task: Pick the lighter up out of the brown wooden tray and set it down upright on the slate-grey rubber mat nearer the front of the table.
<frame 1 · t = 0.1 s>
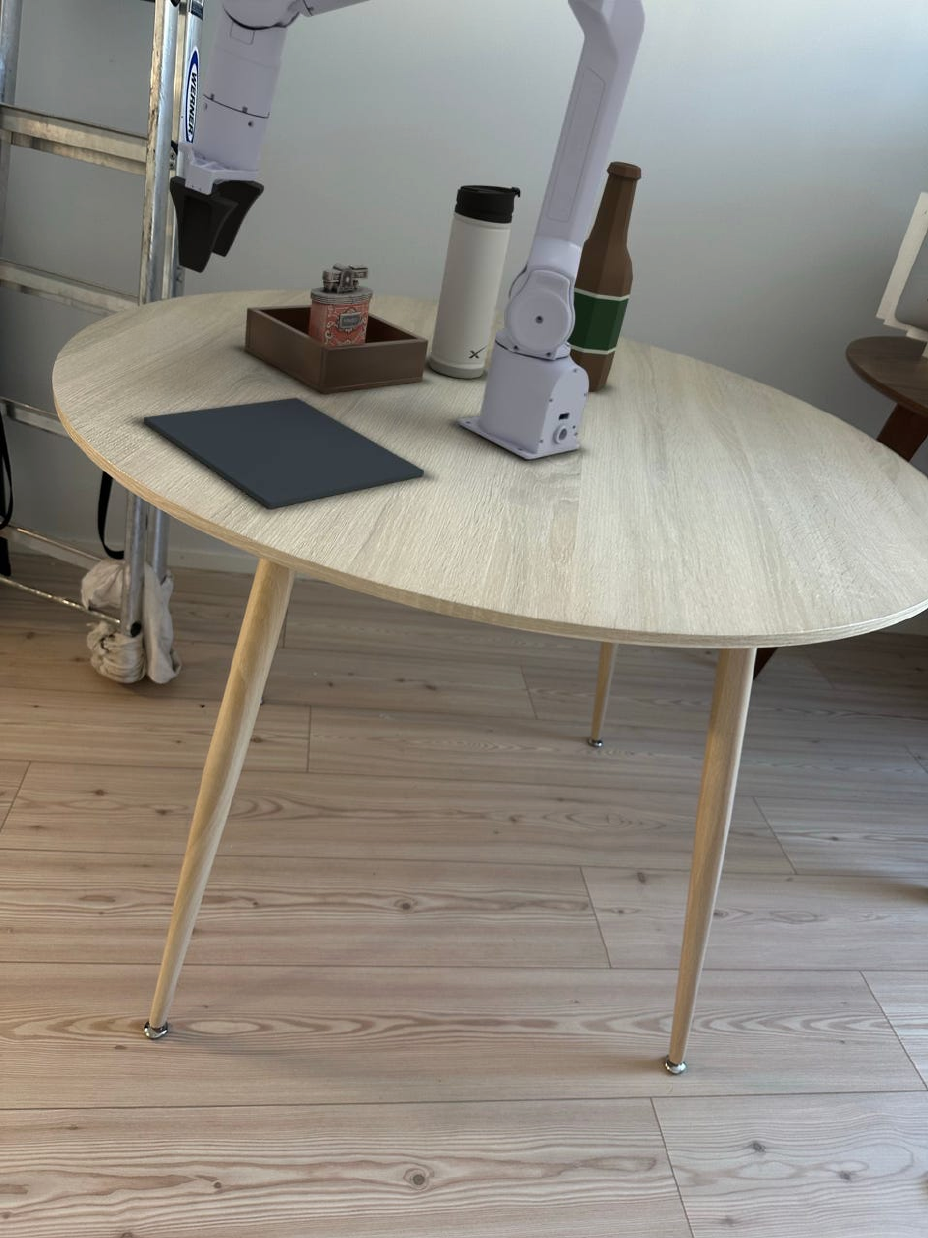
hand: (203, 260, 92), 11 cm above the table, tool pointing down, fingers open, 7 cm apart
beer bottle: (573, 382, 118), on the table
lighter: (334, 362, 106), resting on brown wooden tray
travel mug: (456, 371, 113), on the table
mat: (284, 449, 84), on the table
brown wooden tray: (333, 365, 106), on the table
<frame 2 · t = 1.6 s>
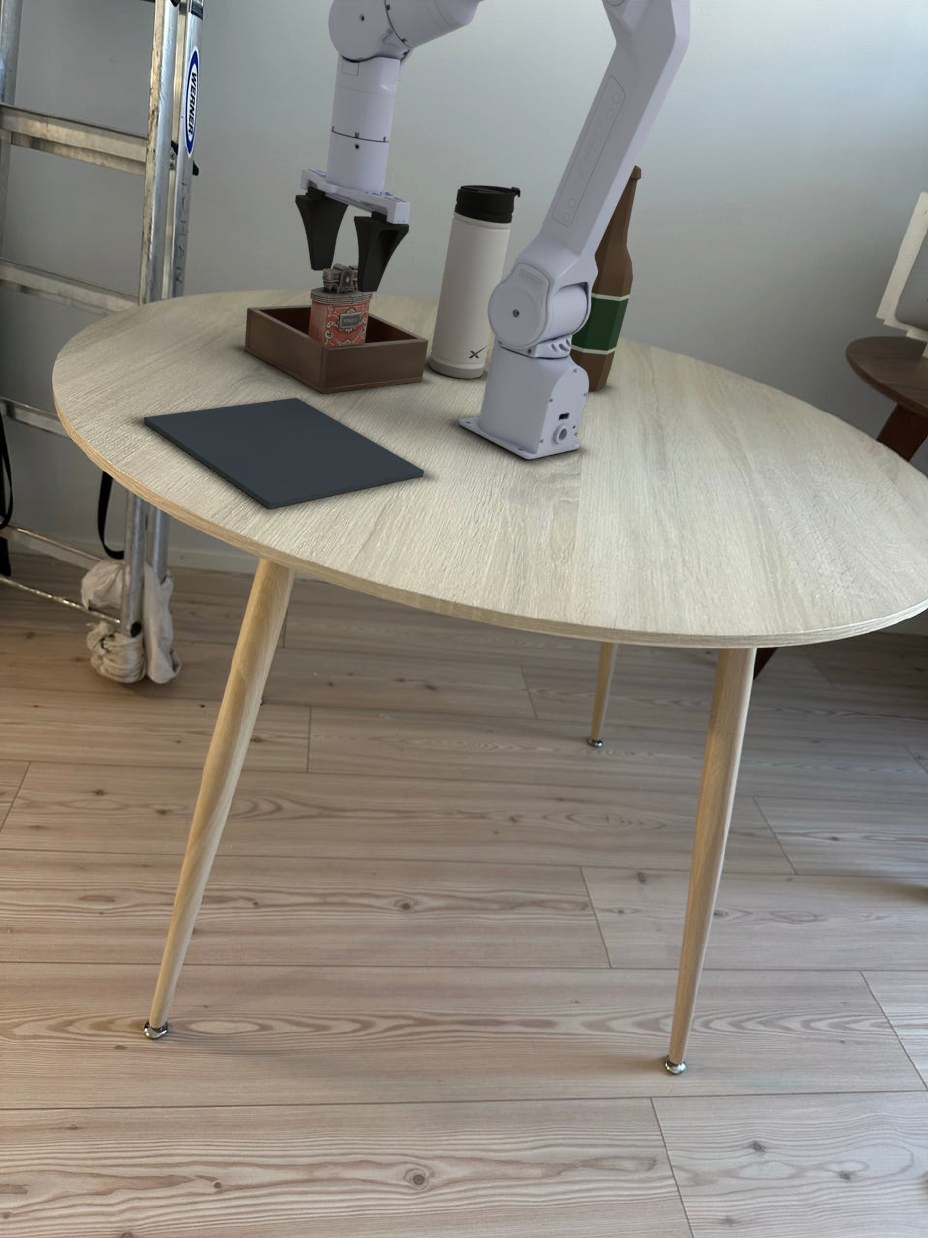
hand: (343, 280, 102), 9 cm above the table, tool pointing down, fingers open, 7 cm apart
nothing on the table moved.
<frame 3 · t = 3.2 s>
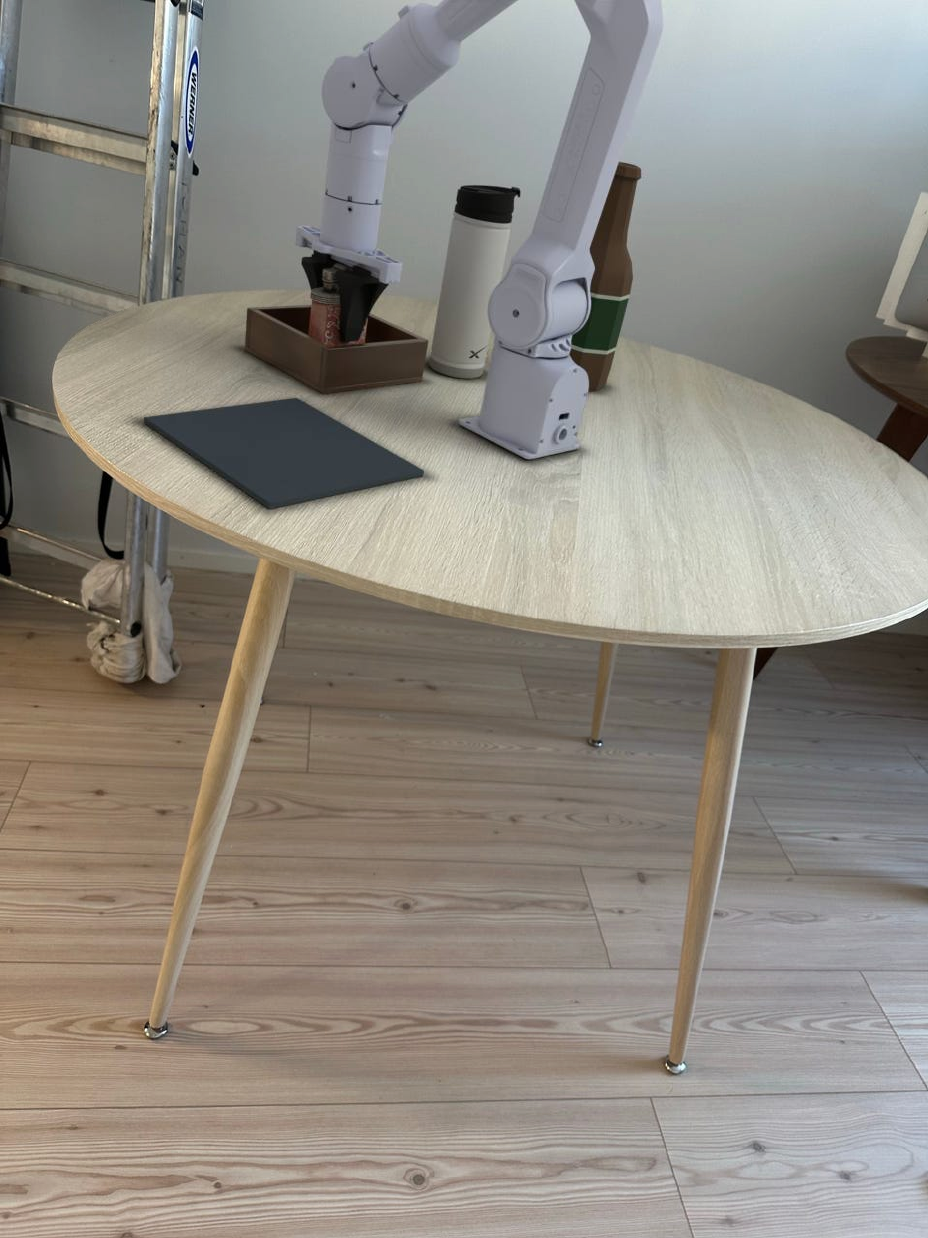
hand: (337, 334, 104), 3 cm above the table, tool pointing down, fingers closed on lighter, 3 cm apart
lighter: (334, 362, 106), resting on brown wooden tray, touching gripper
everything else where it was.
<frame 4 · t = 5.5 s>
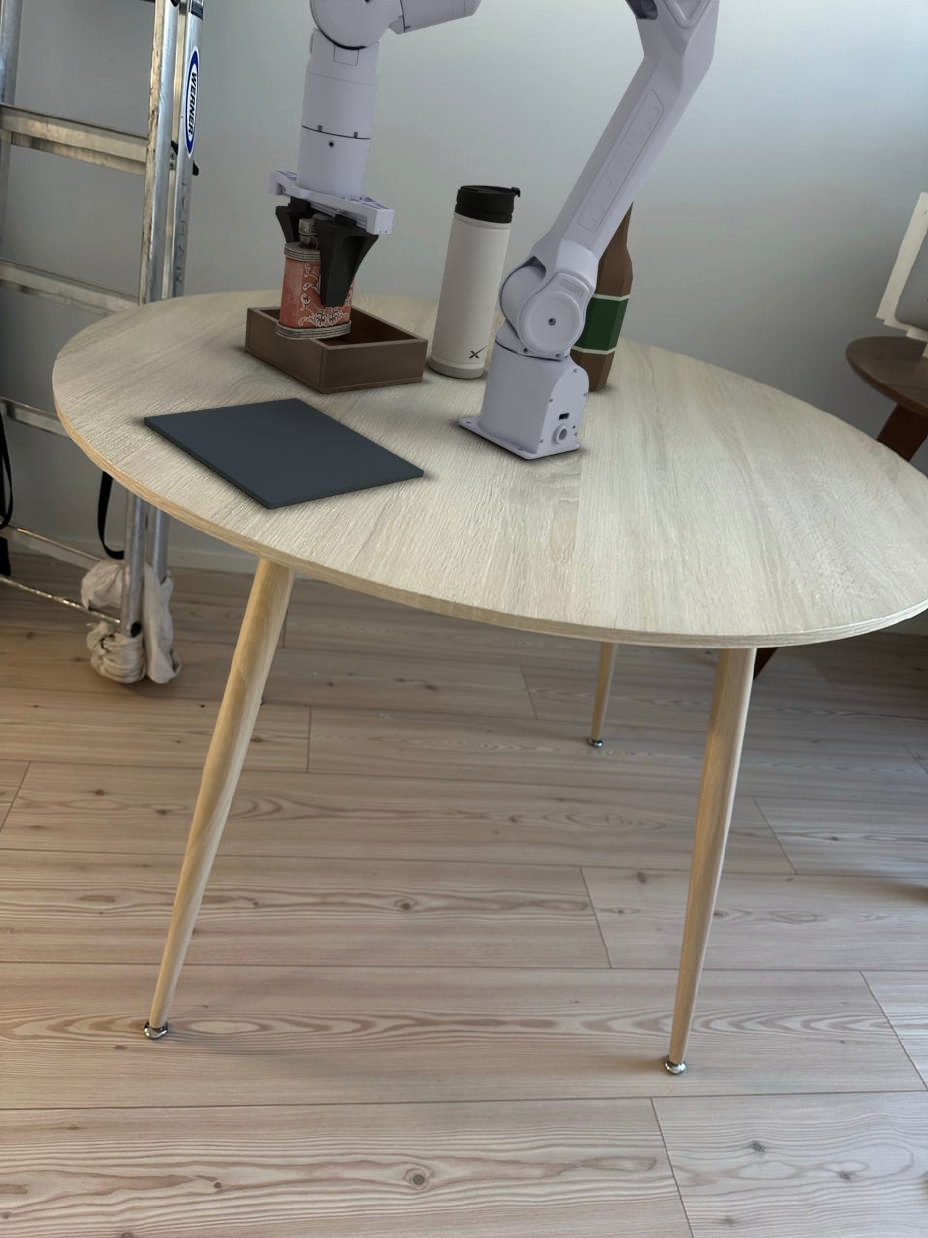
hand: (318, 299, 88), 10 cm above the table, tool pointing down, fingers closed on lighter, 3 cm apart
lighter: (313, 333, 89), point 7 cm above the table, touching gripper
everything else where it was.
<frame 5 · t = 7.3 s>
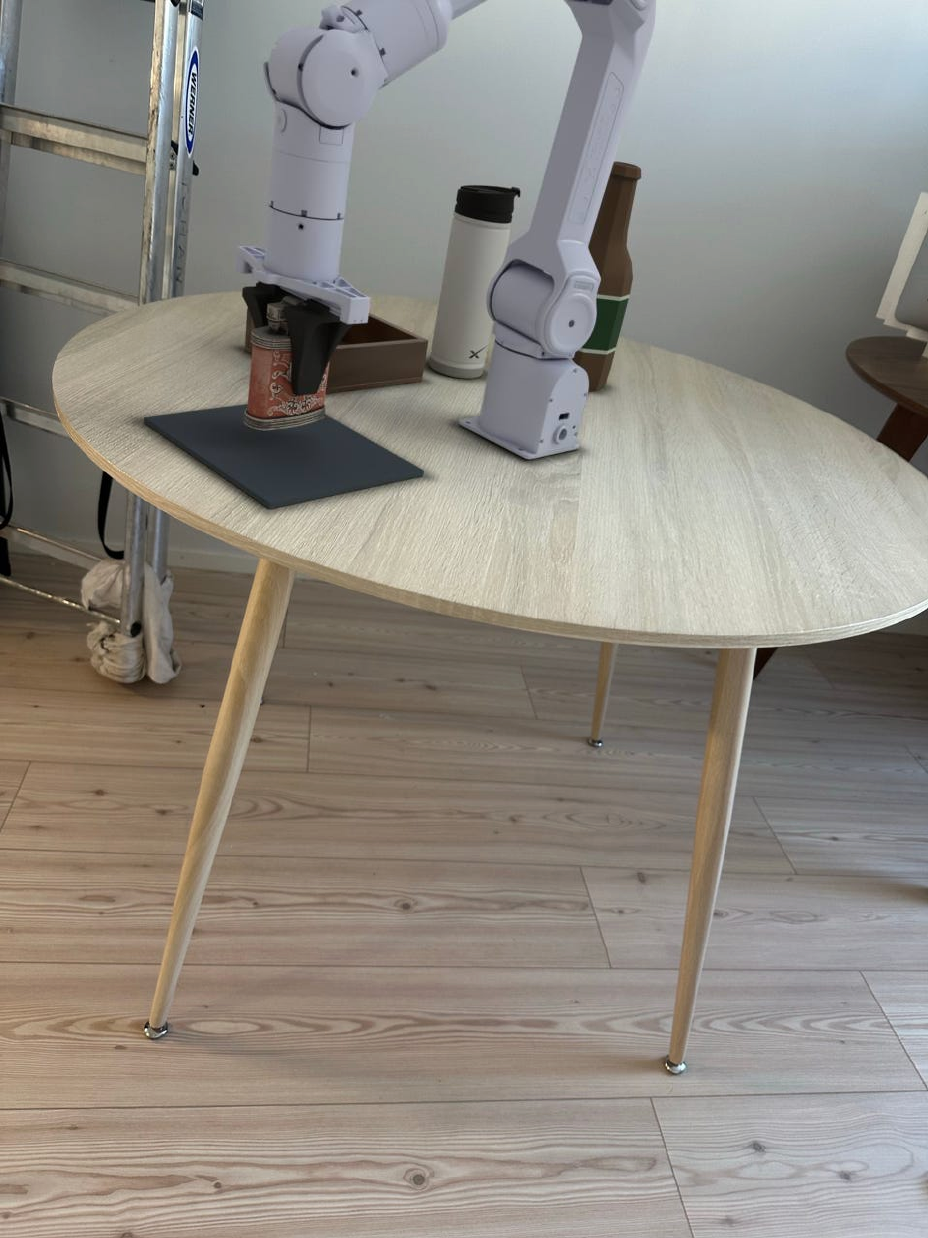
hand: (290, 385, 81), 6 cm above the table, tool pointing down, fingers closed on lighter, 3 cm apart
lighter: (284, 420, 83), point 3 cm above the table, touching gripper
everything else where it was.
when the fingers open (3 cm above the table, at t = 8.3 s): lighter stays where it is, resting on mat.
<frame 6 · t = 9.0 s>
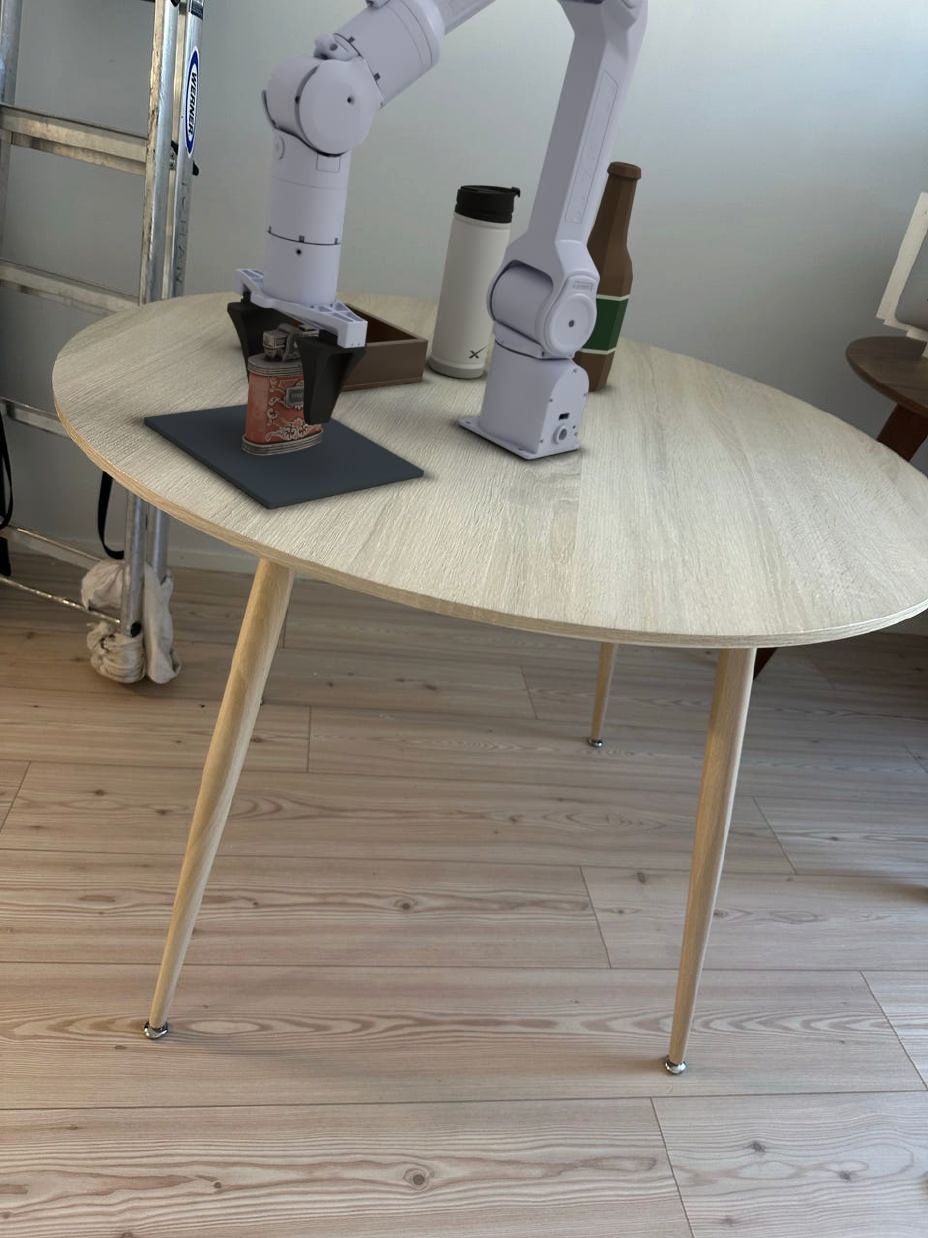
hand: (288, 405, 82), 4 cm above the table, tool pointing down, fingers open, 7 cm apart
lighter: (282, 445, 84), resting on mat
everything else where it was.
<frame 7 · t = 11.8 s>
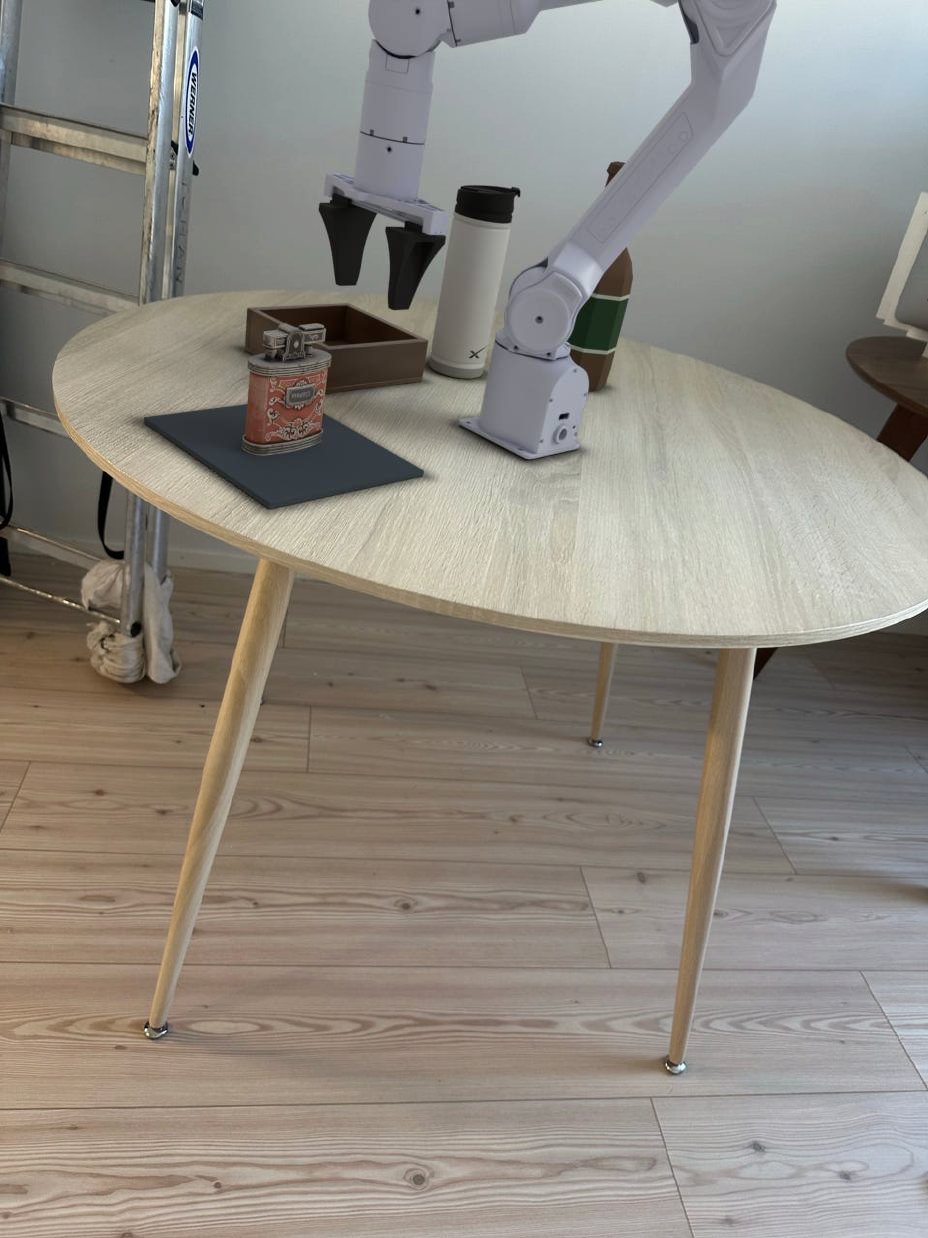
hand: (371, 296, 92), 10 cm above the table, tool pointing down, fingers open, 7 cm apart
nothing on the table moved.
at the end: lighter inside the target area on the mat (0.2 cm from its centre), point 0.3 cm above the mat's base; lighter touching mat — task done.
